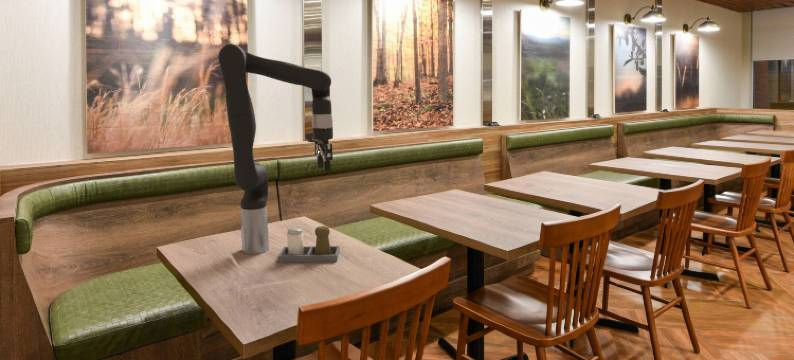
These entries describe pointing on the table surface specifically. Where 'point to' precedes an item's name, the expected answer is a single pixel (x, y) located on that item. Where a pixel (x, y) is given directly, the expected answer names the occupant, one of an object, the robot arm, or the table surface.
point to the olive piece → (322, 241)
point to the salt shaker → (295, 241)
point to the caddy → (309, 255)
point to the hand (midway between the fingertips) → (324, 169)
